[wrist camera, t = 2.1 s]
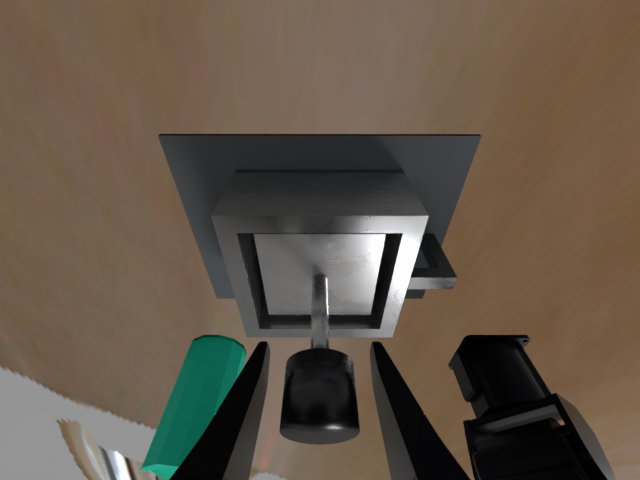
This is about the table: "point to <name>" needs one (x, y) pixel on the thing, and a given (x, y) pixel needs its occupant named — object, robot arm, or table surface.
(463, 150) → the slate mat
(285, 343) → the table surface
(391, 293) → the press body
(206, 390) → the candle
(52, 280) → the table surface
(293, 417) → the plunger
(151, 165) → the table surface
